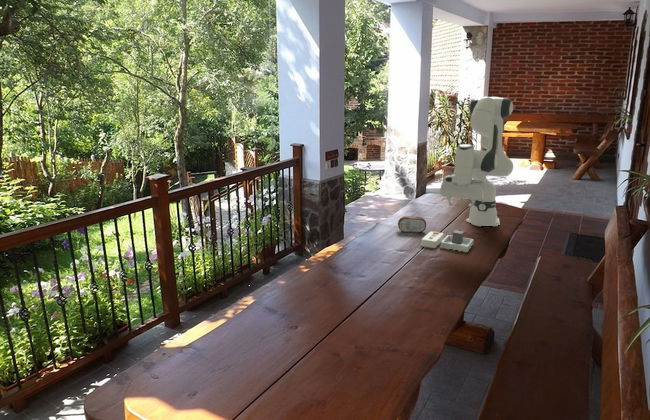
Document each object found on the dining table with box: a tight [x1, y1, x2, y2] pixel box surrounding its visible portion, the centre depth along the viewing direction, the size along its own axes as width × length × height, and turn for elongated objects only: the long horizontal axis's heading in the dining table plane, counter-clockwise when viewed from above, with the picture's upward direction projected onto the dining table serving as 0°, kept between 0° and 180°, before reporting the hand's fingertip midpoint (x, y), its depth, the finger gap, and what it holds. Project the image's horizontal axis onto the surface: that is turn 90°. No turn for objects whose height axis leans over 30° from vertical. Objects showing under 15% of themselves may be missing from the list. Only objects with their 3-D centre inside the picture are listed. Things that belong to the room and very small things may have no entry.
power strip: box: [420, 230, 445, 249], centre depth 249 cm, size 21×7×4 cm, turn 151°
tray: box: [439, 234, 474, 253], centre depth 242 cm, size 13×13×3 cm
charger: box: [452, 229, 465, 245], centre depth 241 cm, size 4×4×7 cm
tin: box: [397, 215, 427, 234], centre depth 263 cm, size 15×3×8 cm, turn 84°
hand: (460, 206), depth 237 cm, fingers open, 8 cm apart
